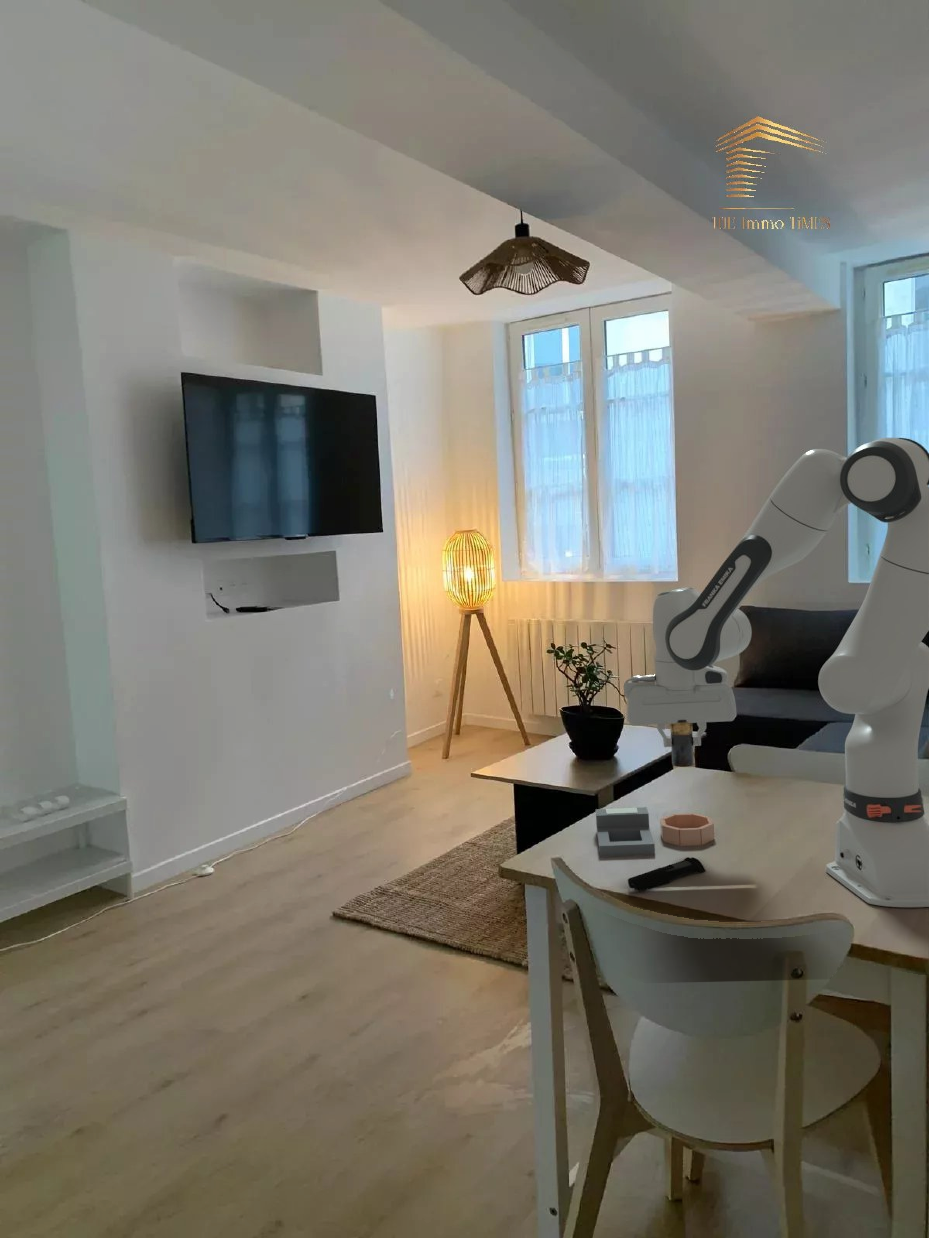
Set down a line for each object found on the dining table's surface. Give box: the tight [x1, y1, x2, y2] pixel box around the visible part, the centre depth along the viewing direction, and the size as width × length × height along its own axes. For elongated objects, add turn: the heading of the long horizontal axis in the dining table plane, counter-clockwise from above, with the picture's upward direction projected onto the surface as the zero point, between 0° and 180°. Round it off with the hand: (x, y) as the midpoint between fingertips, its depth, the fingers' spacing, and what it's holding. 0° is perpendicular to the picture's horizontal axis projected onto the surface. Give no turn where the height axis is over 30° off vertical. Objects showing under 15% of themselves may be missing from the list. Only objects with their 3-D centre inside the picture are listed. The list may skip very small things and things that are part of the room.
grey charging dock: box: [595, 806, 656, 858], centre depth 179 cm, size 14×10×5 cm
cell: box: [669, 720, 695, 768], centre depth 178 cm, size 4×4×10 cm
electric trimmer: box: [627, 857, 707, 891], centre depth 160 cm, size 4×16×3 cm, turn 119°
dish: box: [659, 812, 715, 847], centre depth 180 cm, size 10×10×4 cm
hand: (682, 745), depth 178 cm, fingers closed on cell, 4 cm apart
